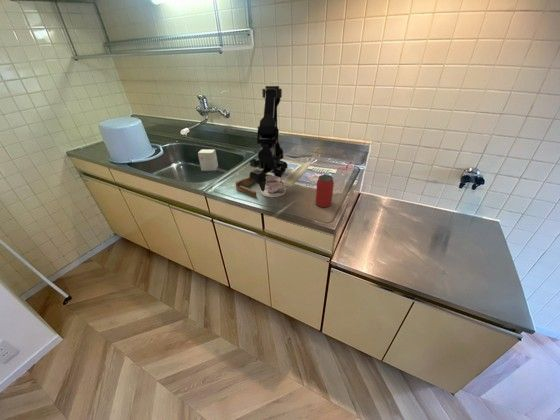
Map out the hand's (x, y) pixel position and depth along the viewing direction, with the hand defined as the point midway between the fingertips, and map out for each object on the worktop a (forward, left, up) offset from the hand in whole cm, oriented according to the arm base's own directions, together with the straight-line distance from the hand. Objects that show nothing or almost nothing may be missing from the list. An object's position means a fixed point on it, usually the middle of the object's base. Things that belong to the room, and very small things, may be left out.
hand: (269, 187), depth 111 cm
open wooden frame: (0, -7, -2) cm, 8 cm away
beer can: (-6, +25, -2) cm, 26 cm away
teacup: (-1, +1, -2) cm, 3 cm away
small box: (+2, -43, -2) cm, 43 cm away
